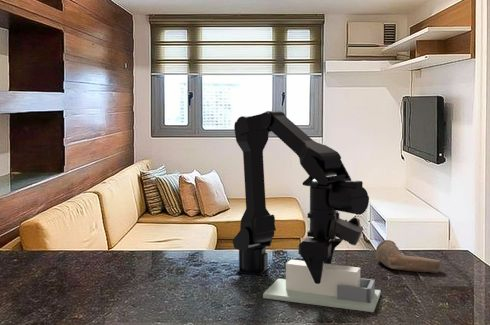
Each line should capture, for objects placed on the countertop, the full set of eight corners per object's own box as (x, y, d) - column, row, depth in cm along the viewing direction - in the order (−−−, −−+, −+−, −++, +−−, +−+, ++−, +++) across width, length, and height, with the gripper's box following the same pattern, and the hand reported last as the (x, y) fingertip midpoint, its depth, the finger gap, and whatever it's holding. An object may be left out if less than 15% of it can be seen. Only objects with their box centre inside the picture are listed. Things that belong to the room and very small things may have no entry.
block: (285, 289, 121) (285, 263, 120) (291, 284, 124) (291, 259, 123) (356, 299, 114) (356, 272, 113) (360, 294, 117) (360, 267, 116)
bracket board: (263, 298, 118) (263, 280, 118) (278, 282, 128) (278, 266, 128) (373, 312, 110) (374, 293, 109) (380, 294, 120) (380, 277, 119)
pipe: (443, 257, 132) (440, 241, 141) (374, 252, 136) (375, 237, 146) (441, 281, 133) (439, 263, 143) (373, 275, 138) (375, 259, 147)
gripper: (352, 218, 105) (351, 295, 107) (366, 202, 122) (365, 268, 124) (297, 215, 109) (297, 289, 111) (319, 199, 127) (318, 264, 128)
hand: (322, 277), depth 118 cm, fingers open, 9 cm apart
